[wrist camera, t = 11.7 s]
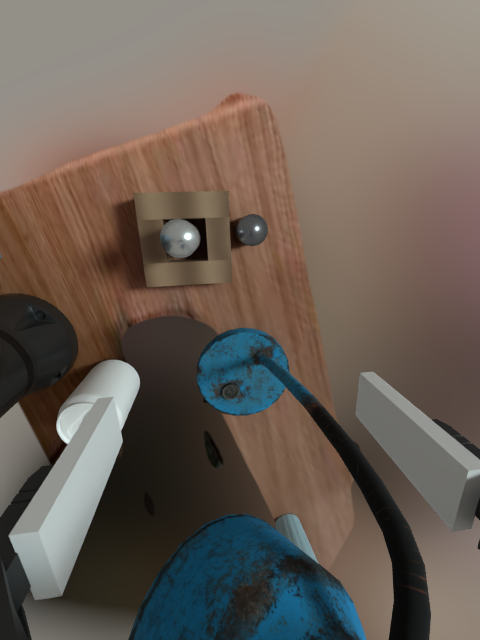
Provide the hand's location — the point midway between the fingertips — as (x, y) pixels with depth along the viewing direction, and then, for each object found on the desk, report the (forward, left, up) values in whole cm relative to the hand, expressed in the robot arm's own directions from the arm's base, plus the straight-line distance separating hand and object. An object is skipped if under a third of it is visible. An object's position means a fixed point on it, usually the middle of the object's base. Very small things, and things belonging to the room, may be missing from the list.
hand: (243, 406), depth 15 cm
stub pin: (+5, +9, -31) cm, 32 cm away
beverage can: (-18, -14, -31) cm, 38 cm away
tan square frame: (-4, +8, -31) cm, 32 cm away
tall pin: (-4, +8, -31) cm, 32 cm away
